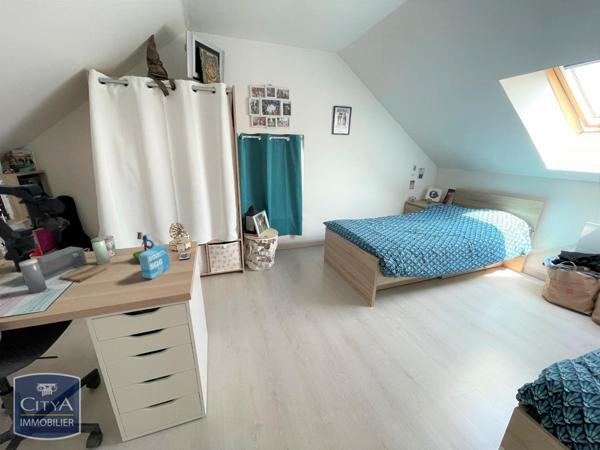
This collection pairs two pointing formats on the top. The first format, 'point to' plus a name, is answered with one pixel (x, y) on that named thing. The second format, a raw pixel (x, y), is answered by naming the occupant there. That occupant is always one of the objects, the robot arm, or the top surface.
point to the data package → (154, 262)
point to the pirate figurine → (139, 236)
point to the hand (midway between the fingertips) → (47, 245)
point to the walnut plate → (82, 273)
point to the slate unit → (61, 261)
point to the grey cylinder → (33, 276)
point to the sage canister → (100, 250)
